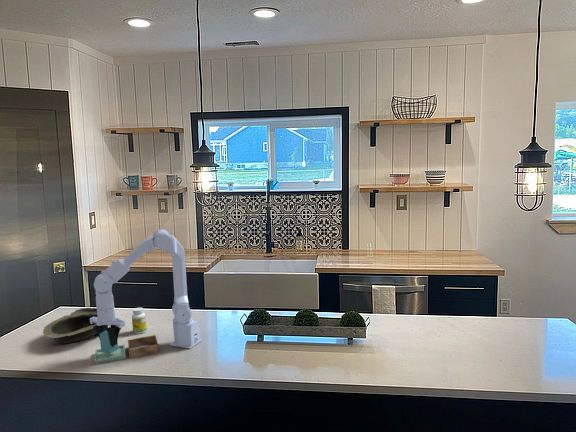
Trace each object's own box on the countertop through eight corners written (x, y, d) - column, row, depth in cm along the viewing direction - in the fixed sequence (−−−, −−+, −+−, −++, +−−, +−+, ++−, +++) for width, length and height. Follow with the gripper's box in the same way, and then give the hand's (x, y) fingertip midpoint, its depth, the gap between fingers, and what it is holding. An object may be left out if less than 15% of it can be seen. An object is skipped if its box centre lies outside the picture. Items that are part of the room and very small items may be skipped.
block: (118, 349, 161) (116, 330, 160) (110, 353, 157) (108, 334, 157) (110, 347, 163) (108, 329, 162) (101, 352, 159) (99, 333, 158)
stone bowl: (122, 325, 190) (120, 304, 189) (92, 355, 166) (88, 332, 164) (68, 324, 193) (64, 304, 191) (30, 354, 169) (26, 331, 167)
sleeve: (156, 342, 171) (155, 335, 170) (158, 352, 162) (158, 344, 161) (128, 347, 167) (127, 339, 167) (129, 358, 158) (128, 350, 158)
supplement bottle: (149, 330, 184) (147, 307, 182) (139, 335, 179) (137, 312, 178) (140, 328, 186) (138, 306, 185) (130, 333, 182) (128, 310, 180)
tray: (124, 348, 167) (124, 344, 167) (125, 358, 158) (125, 354, 157) (95, 353, 163) (95, 349, 163) (95, 364, 154) (94, 360, 154)
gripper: (81, 309, 157) (85, 346, 159) (112, 313, 151) (116, 351, 153) (97, 303, 164) (100, 338, 165) (127, 306, 158) (131, 343, 160)
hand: (109, 344), depth 160 cm, fingers closed on block, 4 cm apart
